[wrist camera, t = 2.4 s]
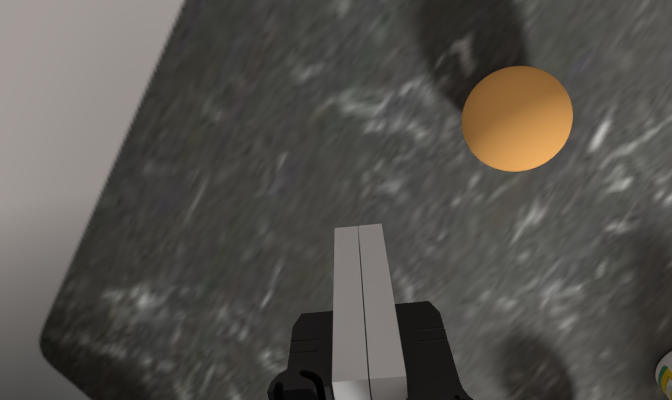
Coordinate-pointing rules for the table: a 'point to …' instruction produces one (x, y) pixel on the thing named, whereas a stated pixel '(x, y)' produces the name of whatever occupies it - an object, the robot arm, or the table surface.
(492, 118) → the ball
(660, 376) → the supplement bottle
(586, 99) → the table surface
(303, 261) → the table surface
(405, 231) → the table surface
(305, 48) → the table surface
